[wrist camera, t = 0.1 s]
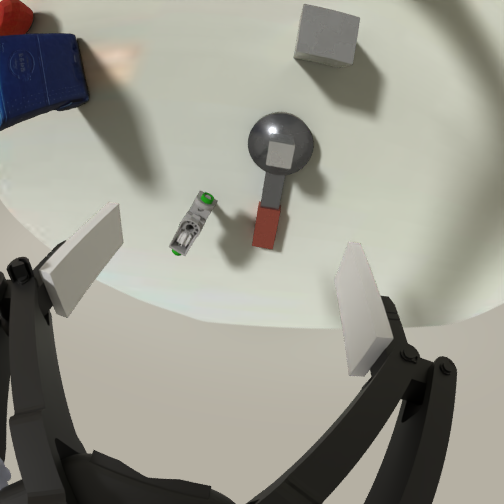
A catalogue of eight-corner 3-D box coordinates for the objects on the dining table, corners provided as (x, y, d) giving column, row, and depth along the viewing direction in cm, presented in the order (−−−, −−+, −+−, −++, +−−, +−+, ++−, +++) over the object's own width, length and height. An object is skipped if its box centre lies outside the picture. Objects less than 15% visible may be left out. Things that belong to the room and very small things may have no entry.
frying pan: (254, 107, 36) (247, 112, 29) (317, 118, 36) (325, 126, 29) (236, 236, 48) (228, 264, 41) (289, 244, 48) (289, 274, 41)
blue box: (95, 99, 36) (4, 128, 19) (74, 111, 37) (-13, 144, 20) (80, 31, 28) (-10, 33, 12) (59, 45, 29) (-28, 56, 13)
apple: (32, 50, 29) (-13, 57, 19) (8, 45, 26) (-33, 52, 16) (53, 0, 23) (8, -3, 13) (26, -1, 21) (-15, -1, 11)
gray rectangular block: (299, 18, 27) (303, 3, 21) (345, 29, 27) (360, 17, 21) (293, 58, 31) (296, 51, 24) (339, 68, 31) (352, 64, 24)
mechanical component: (231, 178, 42) (216, 205, 34) (201, 226, 48) (183, 260, 39) (214, 168, 42) (196, 193, 33) (186, 217, 47) (165, 250, 39)
